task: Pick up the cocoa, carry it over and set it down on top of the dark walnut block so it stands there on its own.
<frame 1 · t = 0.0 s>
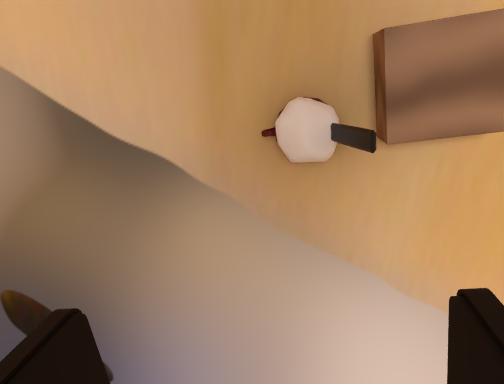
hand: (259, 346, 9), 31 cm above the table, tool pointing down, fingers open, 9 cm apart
cocoa: (308, 125, 38), on the table
walnut block: (426, 79, 35), on the table
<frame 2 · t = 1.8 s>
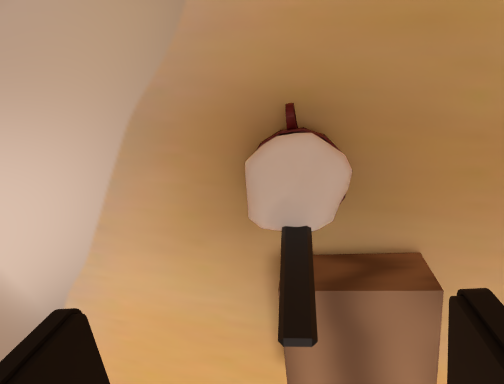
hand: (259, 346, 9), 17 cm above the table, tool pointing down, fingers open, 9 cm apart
cocoa: (296, 168, 25), on the table
walnut block: (350, 307, 28), on the table
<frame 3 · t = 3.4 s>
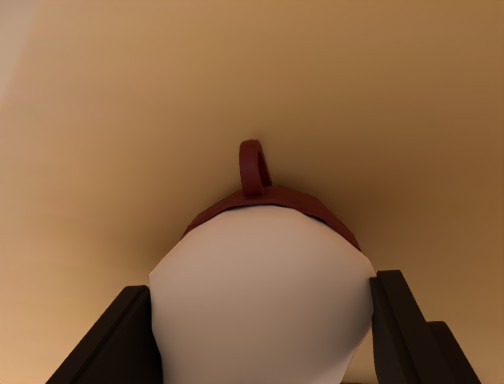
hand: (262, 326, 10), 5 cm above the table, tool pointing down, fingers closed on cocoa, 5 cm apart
cocoa: (271, 246, 14), on the table, touching gripper
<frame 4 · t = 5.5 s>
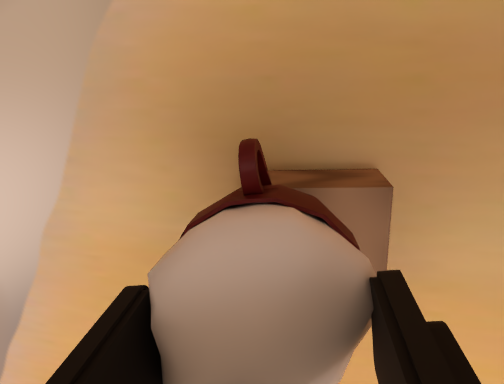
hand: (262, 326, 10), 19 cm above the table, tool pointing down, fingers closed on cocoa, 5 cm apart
cocoa: (270, 245, 14), point 14 cm above the table, touching gripper
walnut block: (311, 226, 30), on the table
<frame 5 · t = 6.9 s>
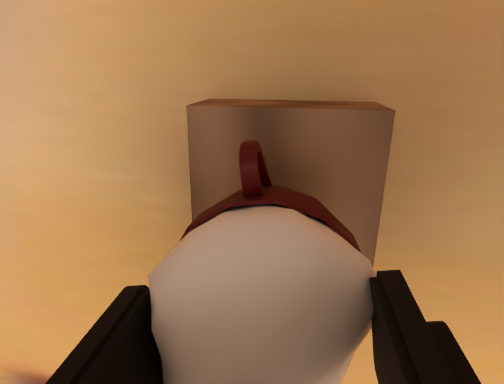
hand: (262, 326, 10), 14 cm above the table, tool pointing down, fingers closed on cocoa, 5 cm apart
cocoa: (271, 246, 14), point 9 cm above the table, touching gripper
walnut block: (286, 177, 23), on the table
when the fingers open (11 cm above the table, at t = 7.9 s): cocoa drops 1 cm, resting on walnut block.
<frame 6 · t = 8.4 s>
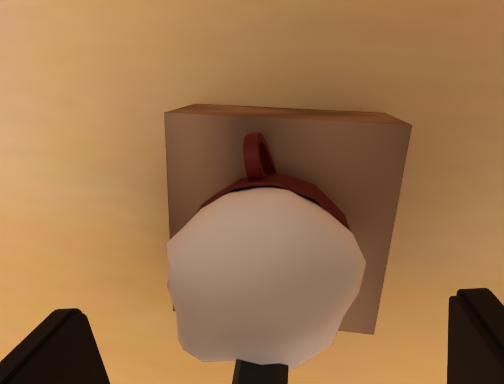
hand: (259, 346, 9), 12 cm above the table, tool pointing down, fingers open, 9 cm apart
cocoa: (278, 230, 16), point 5 cm above the table, touching walnut block
walnut block: (281, 195, 20), on the table, touching cocoa
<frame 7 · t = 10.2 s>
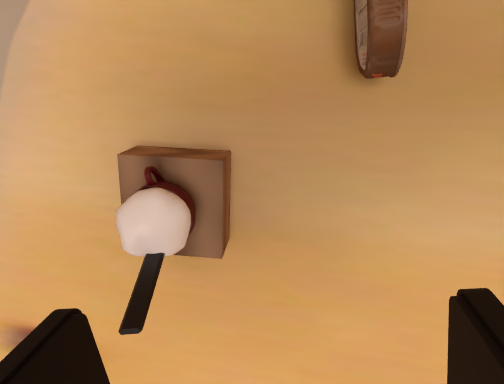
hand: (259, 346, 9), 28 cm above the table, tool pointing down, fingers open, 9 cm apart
cocoa: (170, 207, 34), point 4 cm above the table, touching walnut block
walnut block: (185, 192, 38), on the table, touching cocoa
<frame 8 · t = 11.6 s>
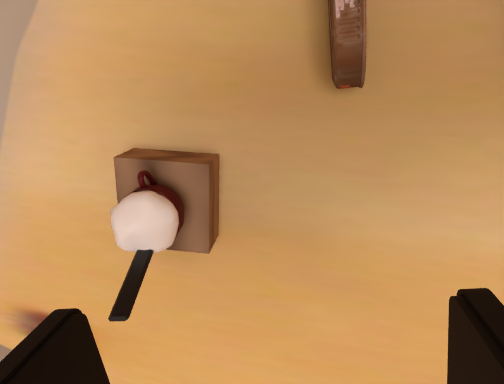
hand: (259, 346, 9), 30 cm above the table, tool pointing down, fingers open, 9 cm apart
tin: (339, 4, 33), on the table
cocoa: (162, 207, 37), point 4 cm above the table, touching walnut block
walnut block: (178, 191, 42), on the table, touching cocoa
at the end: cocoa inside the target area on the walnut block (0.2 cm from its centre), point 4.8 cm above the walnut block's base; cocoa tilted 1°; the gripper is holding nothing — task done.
